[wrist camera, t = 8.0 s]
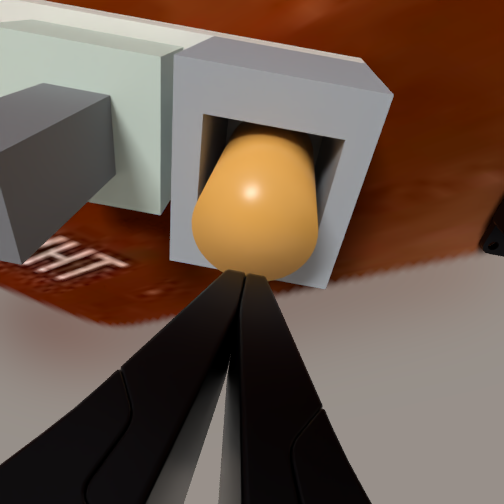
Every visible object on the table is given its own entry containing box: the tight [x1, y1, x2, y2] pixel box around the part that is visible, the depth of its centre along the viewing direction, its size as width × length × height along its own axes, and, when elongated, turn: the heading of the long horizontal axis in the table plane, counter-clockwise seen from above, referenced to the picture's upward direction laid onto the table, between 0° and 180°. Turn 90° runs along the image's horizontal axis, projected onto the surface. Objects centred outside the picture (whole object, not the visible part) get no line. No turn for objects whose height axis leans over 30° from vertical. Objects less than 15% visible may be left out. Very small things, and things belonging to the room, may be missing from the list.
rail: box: [0, 0, 394, 289], centre depth 15 cm, size 26×7×7 cm, turn 82°
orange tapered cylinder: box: [192, 121, 318, 281], centre depth 12 cm, size 3×3×6 cm
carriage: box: [0, 19, 183, 264], centre depth 12 cm, size 6×6×9 cm
